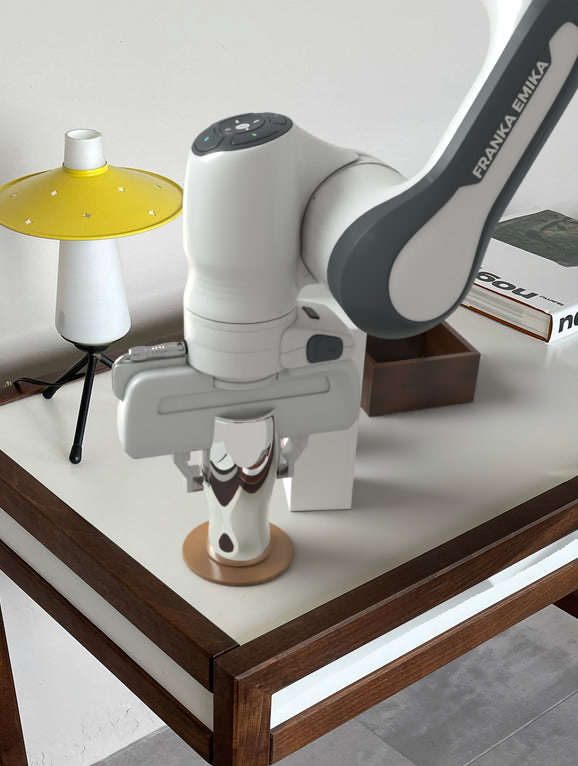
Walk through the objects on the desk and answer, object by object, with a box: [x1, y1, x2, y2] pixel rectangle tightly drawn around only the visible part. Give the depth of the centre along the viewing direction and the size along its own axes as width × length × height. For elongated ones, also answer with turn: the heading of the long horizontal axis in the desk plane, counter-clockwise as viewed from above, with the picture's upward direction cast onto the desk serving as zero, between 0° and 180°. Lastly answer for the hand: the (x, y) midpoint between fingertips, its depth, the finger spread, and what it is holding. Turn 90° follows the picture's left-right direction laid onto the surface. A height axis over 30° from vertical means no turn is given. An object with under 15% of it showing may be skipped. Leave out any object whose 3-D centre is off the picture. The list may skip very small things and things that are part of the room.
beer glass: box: [198, 408, 281, 567], centre depth 87 cm, size 7×7×15 cm
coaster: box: [181, 520, 294, 587], centre depth 92 cm, size 10×10×1 cm
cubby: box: [360, 319, 482, 417], centre depth 114 cm, size 13×13×14 cm
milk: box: [282, 283, 367, 512], centre depth 93 cm, size 6×6×22 cm
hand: (238, 481), depth 87 cm, fingers closed on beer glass, 7 cm apart
